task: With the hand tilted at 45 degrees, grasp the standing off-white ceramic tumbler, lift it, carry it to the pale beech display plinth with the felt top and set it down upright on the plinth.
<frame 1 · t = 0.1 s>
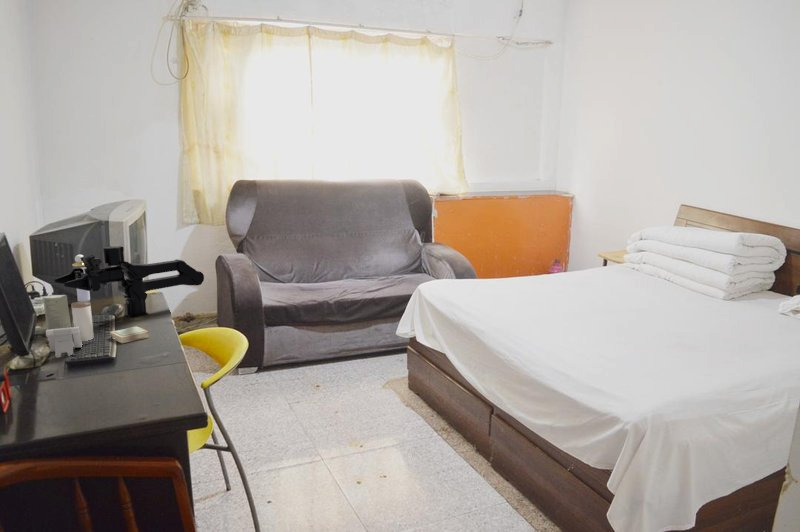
hand: (59, 282, 204), 17 cm above the table, tool horizontal, fingers open, 9 cm apart
skincare box: (59, 330, 206), on the table
plinth: (129, 337, 197), on the table
portable electronic device stand: (66, 353, 182), on the table
tumbler: (84, 341, 192), on the table
perfume bottle: (84, 302, 245), on the table
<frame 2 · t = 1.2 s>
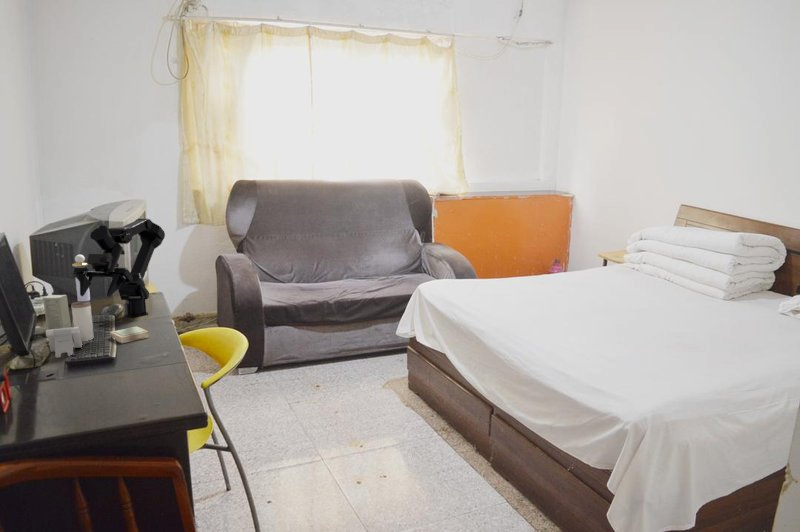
hand: (94, 295, 198), 14 cm above the table, tool tilted 45°, fingers open, 9 cm apart
nothing on the table moved.
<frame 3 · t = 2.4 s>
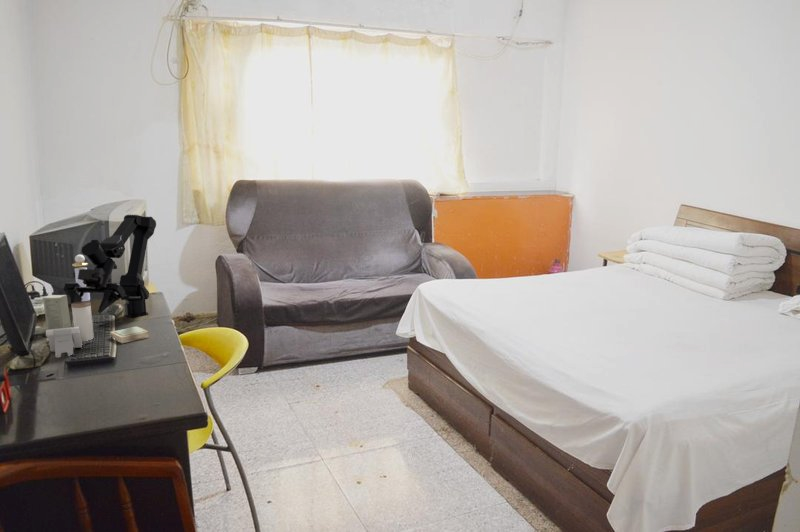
hand: (85, 312, 193), 9 cm above the table, tool tilted 45°, fingers open, 9 cm apart
nothing on the table moved.
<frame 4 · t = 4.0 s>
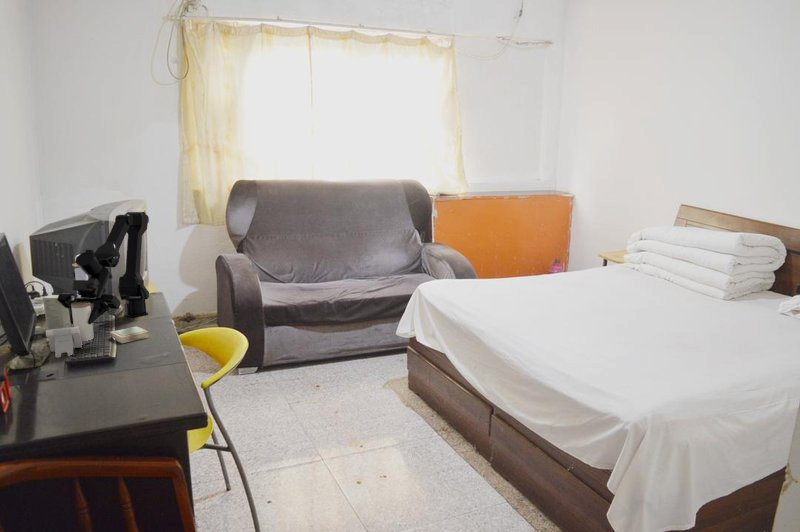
hand: (80, 323, 190), 7 cm above the table, tool tilted 45°, fingers closed on tumbler, 5 cm apart
tumbler: (84, 341, 192), on the table, touching gripper
everything else where it was.
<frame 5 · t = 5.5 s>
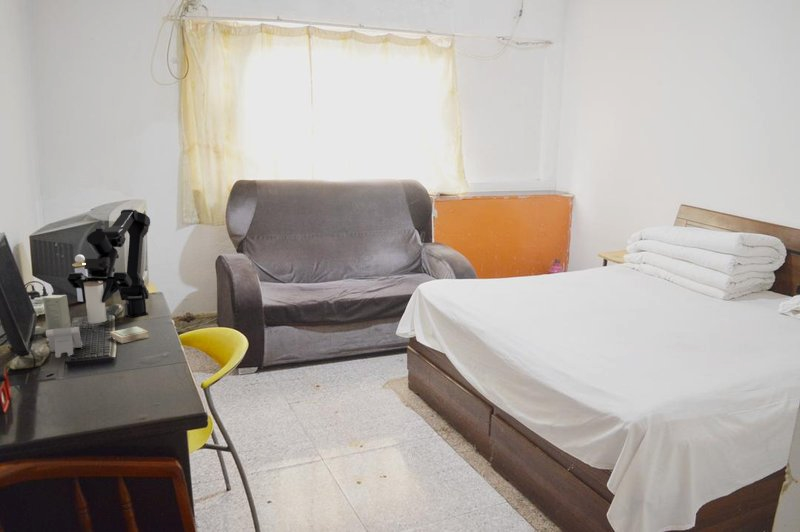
hand: (93, 302, 190), 13 cm above the table, tool tilted 45°, fingers closed on tumbler, 5 cm apart
tumbler: (97, 320, 192), point 7 cm above the table, touching gripper
everything else where it was.
when the fingers open (10 cm above the table, at t = 7.5 s): tumbler stays where it is, resting on plinth.
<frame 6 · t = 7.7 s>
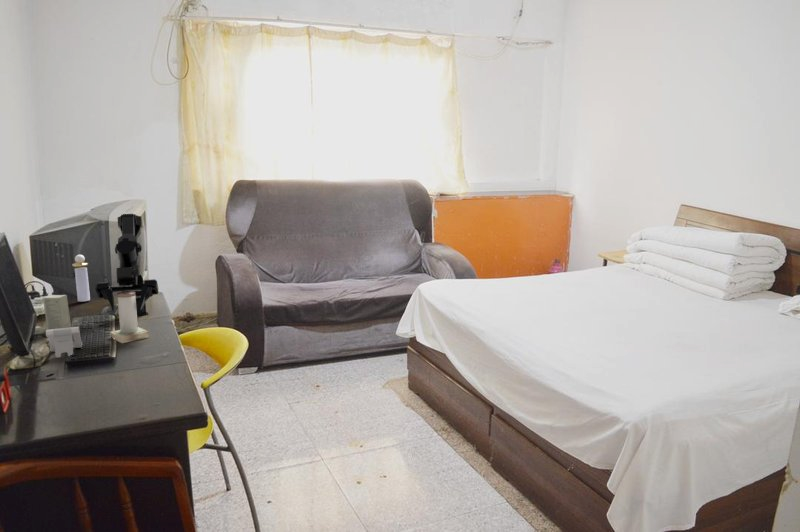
hand: (126, 310, 194), 10 cm above the table, tool tilted 45°, fingers open, 8 cm apart
tumbler: (129, 330, 197), point 2 cm above the table, touching plinth
everything else where it was.
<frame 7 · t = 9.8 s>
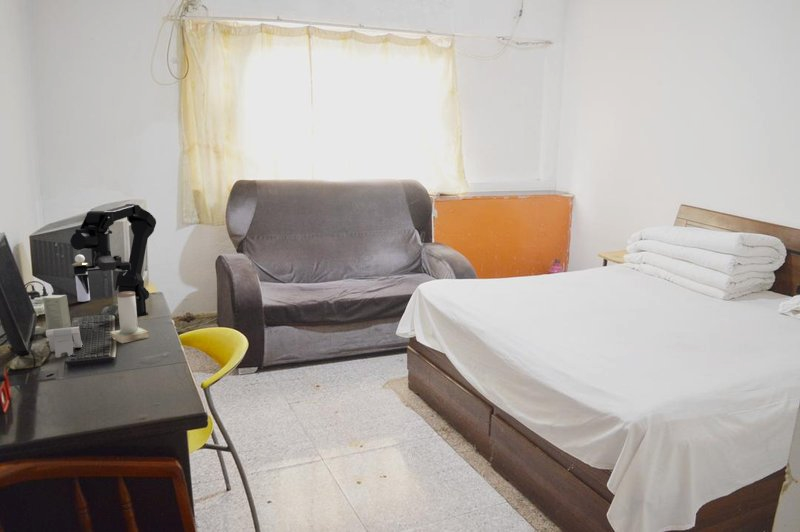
hand: (101, 292, 206), 13 cm above the table, tool pointing down, fingers open, 9 cm apart
nothing on the table moved.
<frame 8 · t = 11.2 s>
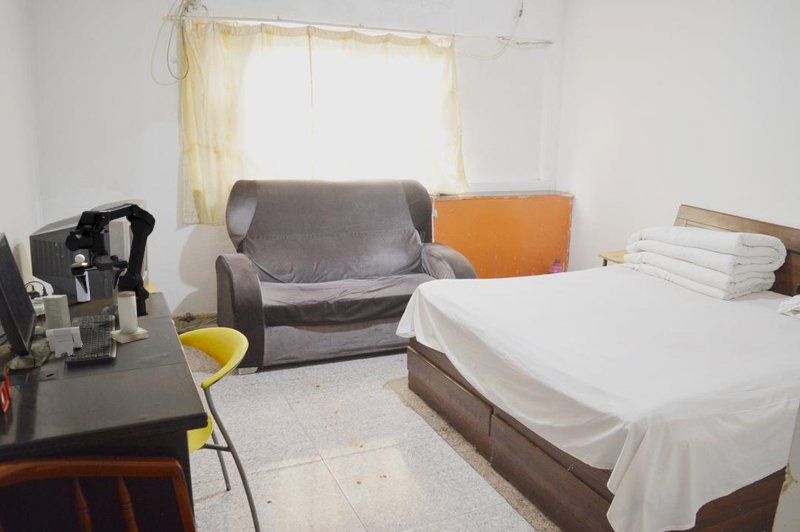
hand: (100, 291, 207), 13 cm above the table, tool pointing down, fingers open, 9 cm apart
nothing on the table moved.
at the end: tumbler inside the target area on the plinth (0.1 cm from its centre), point 2.2 cm above the plinth's base; tumbler tilted 0°; the gripper is holding nothing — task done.
